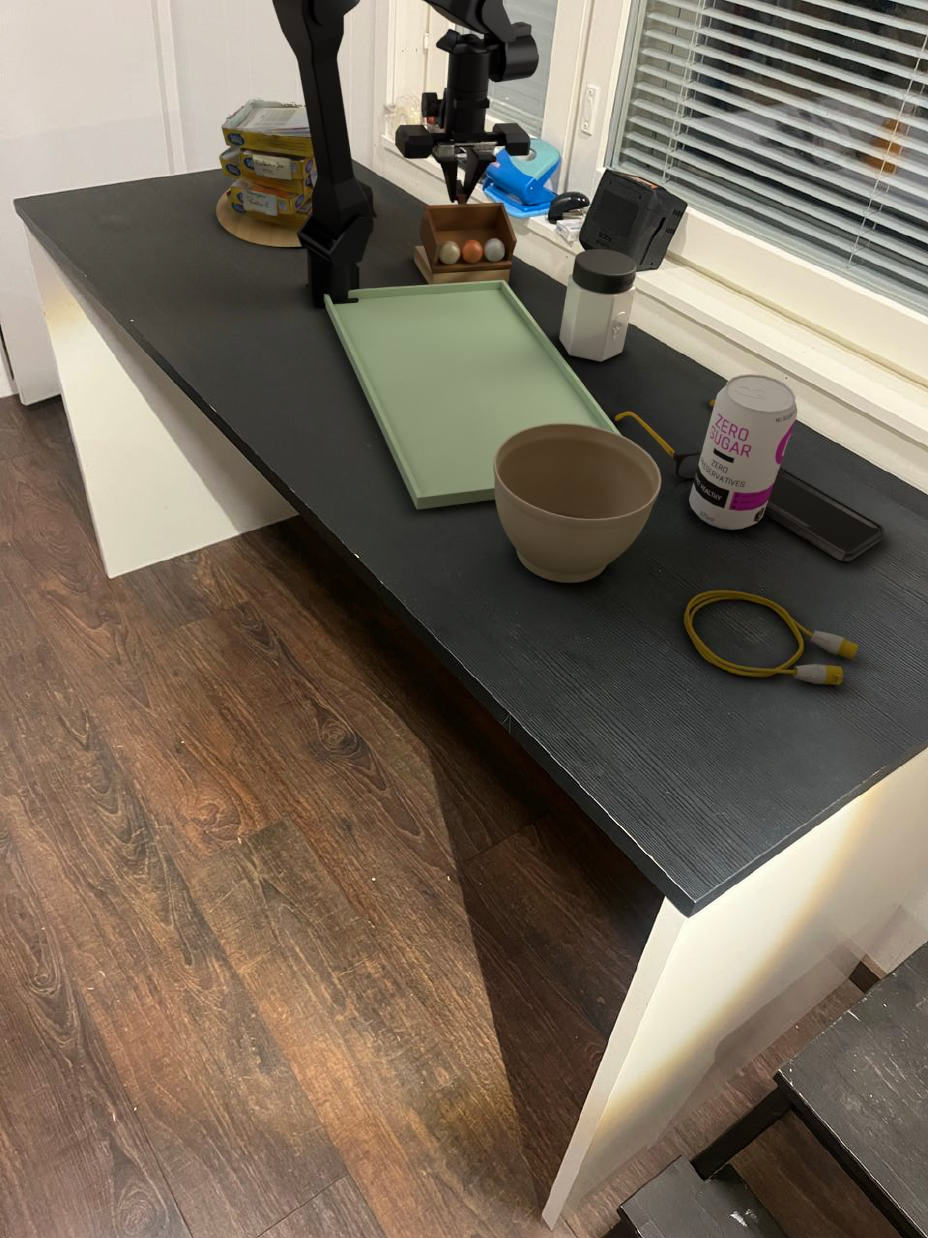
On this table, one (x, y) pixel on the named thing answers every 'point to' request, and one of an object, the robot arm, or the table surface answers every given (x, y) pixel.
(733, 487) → the supplement can
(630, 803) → the table surface
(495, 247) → the ball
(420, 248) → the stand
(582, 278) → the jar
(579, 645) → the table surface
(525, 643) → the table surface
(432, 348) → the tray
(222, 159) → the stacked yellow boxes
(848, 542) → the phone
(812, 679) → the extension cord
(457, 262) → the wooden ball box
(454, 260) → the ball
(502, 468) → the planter bowl
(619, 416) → the eyeglasses
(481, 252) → the ball
